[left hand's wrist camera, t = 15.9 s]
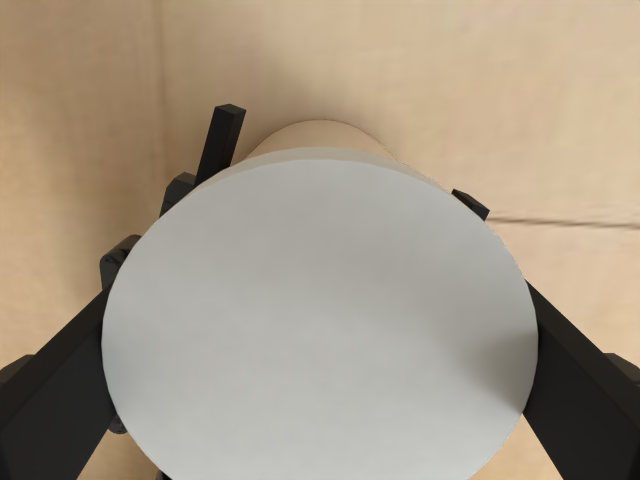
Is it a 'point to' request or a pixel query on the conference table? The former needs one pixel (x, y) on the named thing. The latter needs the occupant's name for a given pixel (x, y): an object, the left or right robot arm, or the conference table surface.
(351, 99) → the conference table surface
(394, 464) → the lid
